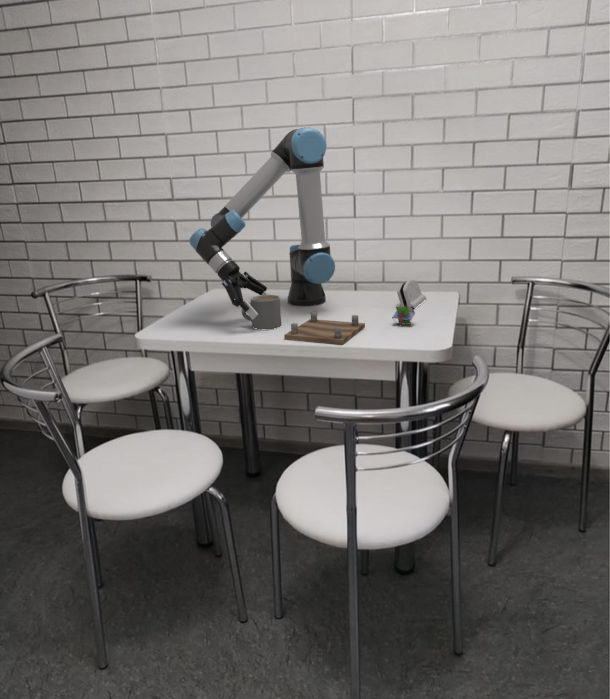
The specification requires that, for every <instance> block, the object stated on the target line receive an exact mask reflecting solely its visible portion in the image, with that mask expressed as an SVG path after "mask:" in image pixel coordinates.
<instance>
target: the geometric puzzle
mask: <svg viewBox="0 0 610 699" xmlns="http://www.w3.org/2000/svg"><path fill="white" fill-rule="evenodd" d="M395 309H396V310H395V311H394V314H393V315H392V317H391V319H392V320H394V321H395V322H398V324H399V325H401V326H403V325H407V324H406V323H410V324H411V321H412V320H413V319H414V316H415V314H416V312H415V310H414V309H413V306H412V307H410V306H408V305H406V306H405V307H404V306H403V307H401V306H396V307H395ZM396 319H397V320H398V321H397V320H396ZM403 323H405V324H403Z"/></svg>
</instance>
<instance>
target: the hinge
mask: <svg viewBox="0 0 610 699" xmlns="http://www.w3.org/2000/svg"><path fill="white" fill-rule="evenodd" d="M396 292H397V297H398V301H399V303H400V307H403V306H404V307H405V306H406V305H408V306H410V307H412V309H413V308H414V309H415V308H416V307H417V306H418V305H419V304H421V303H422V302H423V301H424V300H426V299H427V296H426V295H424V294H422V292H421V288H420V286H419V284H418V281H417V280H414V279H413V280H407V281H405V282H403V283H401V284H400V285H399V286H398V288H397V290H396ZM426 301H427V300H426ZM414 309H413V310H414Z"/></svg>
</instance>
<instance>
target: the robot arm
mask: <svg viewBox="0 0 610 699" xmlns="http://www.w3.org/2000/svg"><path fill="white" fill-rule="evenodd" d="M326 152H327V142H326V138H325V137H324V135H323V133H321V132H320V131H319V130H318V129H316V128H314V127H310V126H308V127H306V126H304V127H299V128H296V129H292V130H290V131H289V132H288V133H287V134H286V135H285V136H284V137H283V139H281V141H280V142H279V143H278V144H277V145H276V146H275V148H274V149H273V150H272V151H271V152H270V158H269V159H267V160H266V162H265V163H264V164H263V165H262V166H261V167H260V168H259V169H258V170H257V171H256V172H255V173H254V174H253V175H252V177H250V179H248V180H247V182H246V183H245V184H244V185H243V186H242V187H241V189H239V190H238V191H237V193H235V195H234V196H233V197H232V198H231V199H230V200H229V201H228V202H227V203H226V204H225V205H224V206H223V208H221V209H220V210H219V211H218V213H216V214H214V215H213V216H212V217H211V218H210V227H211V228H209V229H208V230H207V229H205V228H204V227H202V228H198V230H196V231H194V232H193V233H192V234H191V236H190V238H189V244H190V246H191V247H192V248H193V250H194V251H195V252H196V253H197V254H198V255H199V257H201V259H202V260H203V261H204V262H205V263H206V264H207V265H208V266H209V267H210V268H211V269H212V271H213V272H214V273H215V274H217V276H218V277H219V278H220V279H221V281H222V283H221V285H222V286H223V287H224V289H225V291H226V293H227V295H228V297H229V299H230V301H231V303H232V306H235V307H237V308H239V306H240V308H241V310H242V309H243V310H244V311H245V312H246V314H247V315H248V316H250V317H251V318H252V320H253V319H254V318H255V317H256V316H257V315H258V313H257V312H256V311H255V310H254V309H253V308H252V306H251V305H250V304H249V303H250V302H248V301H247V300H246V299H244V298H243V297H244V296H243V293H242V289H248V290H249V291H251V292H254V293H256V294H257V295H269V294H268V293H267V292H266V291H267V290H268V288H267V286H266V285H264V284H263V283H261V282H260V281H259V280H257V279H256V278H254V277H253V276H251V274H249V273H248V272H247V271H244V272H243V273H242V272H240V269H241V268H240V266H239V265H238V264H237V263H236V261H234V260H233V258H232V257H231V256H230V255H229V254H228V253H227V252H226V251H225V249H223V247H224V246H225V245H227V243H229V242H230V241H231V240H232V239H234V238H235V237H236V236H237V235H238V234H239V233H241V232H242V231H243V229H244V228H245V227H246V222H245V221H244V219H243V218H244V217H245V216H246V215H247V213H248V212H249V211H250V210H251V209H252V208H254V206H256V204H257V203H258V202H259V201H260V200H261V199H262V198H263V197H264V196H265V195H266V194H267V192H268V191H270V189H271V188H272V187H273V186H274V185H275V184H276V183H277V182H278V181H279V180H280V179H281V177H283V176H284V174H286V173H290V172H292V173H294V175H295V181H296V190H297V192H296V193H297V202H298V204H297V205H298V213H299V214H298V215H299V226H300V227H299V228H300V235H301V238H300V239H301V243H300V244H292V245H290V247H289V264H290V265H289V267H290V268H289V269H290V287H289V291H288V295H287V304H288V305H291V306H296V307H311V306H319V305H322V304H324V303H326V301H327V299H326V298H327V297H326V294H325V290H324V287H323V285H322V284H324V283H327V282H328V281H330V279H331V278H332V277H333V276H334V273H335V272H336V263H335V260H334V258H333V257H332V256H331V255H332V254H331V245H330V243H329V242H328V241H327V240H326V234H325V232H326V231H325V218H324V208H323V194H322V184H321V183H322V180H321V172H322V171H323V169H324V168H325V166H324V164H325V162H324V156H325V155H326Z"/></svg>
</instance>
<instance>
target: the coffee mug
mask: <svg viewBox="0 0 610 699" xmlns="http://www.w3.org/2000/svg"><path fill="white" fill-rule="evenodd" d="M280 297H281V296H279V295H276V294H268V295H259V294H257V295H255V296H252V297H250V302H248V303H249V304H250V305H251V306H252V308H253V309H254V310H255V311H256V312H257V313H258V315H257V316H256V317H255V318H254V319H253V320H252V318H251V317H250V316H249V315H248V314H247V313H246V312H245V311H244V310H243V309H242V308H241V314H242V317H243V318H244V319H245V320H247V321H250V322H251V323H252V324H251V325H252V328H253V327H254V328H257V329H256V330H258V329H271V330H275V329H274V328H276V329H278V328H277V327H279V328H281V327H280V326H282V314H281V313H282V312H281V298H280ZM254 328H253V329H254Z"/></svg>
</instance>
